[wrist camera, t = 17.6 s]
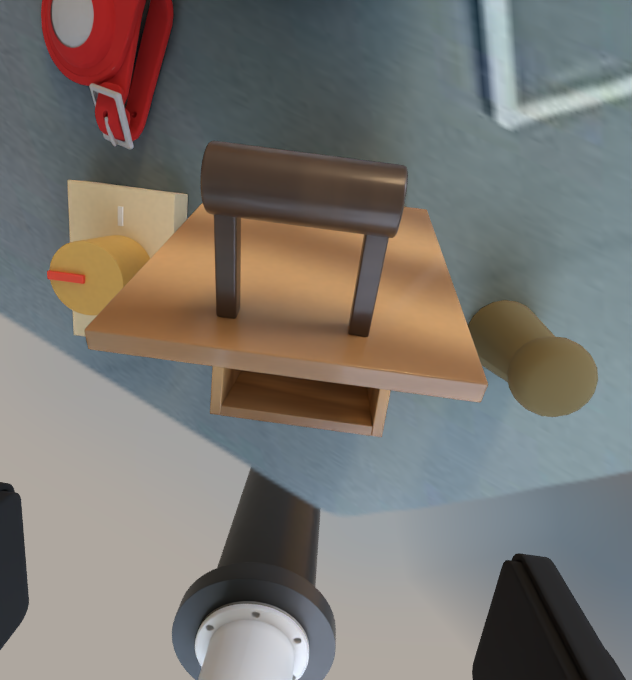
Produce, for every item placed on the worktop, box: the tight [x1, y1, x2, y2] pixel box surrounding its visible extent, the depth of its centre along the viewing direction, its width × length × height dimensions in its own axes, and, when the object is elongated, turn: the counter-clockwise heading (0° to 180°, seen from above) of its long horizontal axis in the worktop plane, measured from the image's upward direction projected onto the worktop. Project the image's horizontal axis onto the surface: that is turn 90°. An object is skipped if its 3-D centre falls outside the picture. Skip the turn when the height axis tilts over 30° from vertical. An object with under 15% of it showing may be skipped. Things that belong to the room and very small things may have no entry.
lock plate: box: [68, 180, 188, 336], centre depth 36 cm, size 12×9×3 cm
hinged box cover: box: [84, 141, 488, 402], centre depth 19 cm, size 16×13×6 cm
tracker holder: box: [41, 0, 173, 149], centre depth 31 cm, size 12×4×10 cm
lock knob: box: [47, 235, 150, 316], centre depth 32 cm, size 5×5×5 cm
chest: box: [210, 366, 391, 437], centre depth 34 cm, size 16×13×8 cm
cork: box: [468, 300, 598, 417], centre depth 33 cm, size 6×6×11 cm
